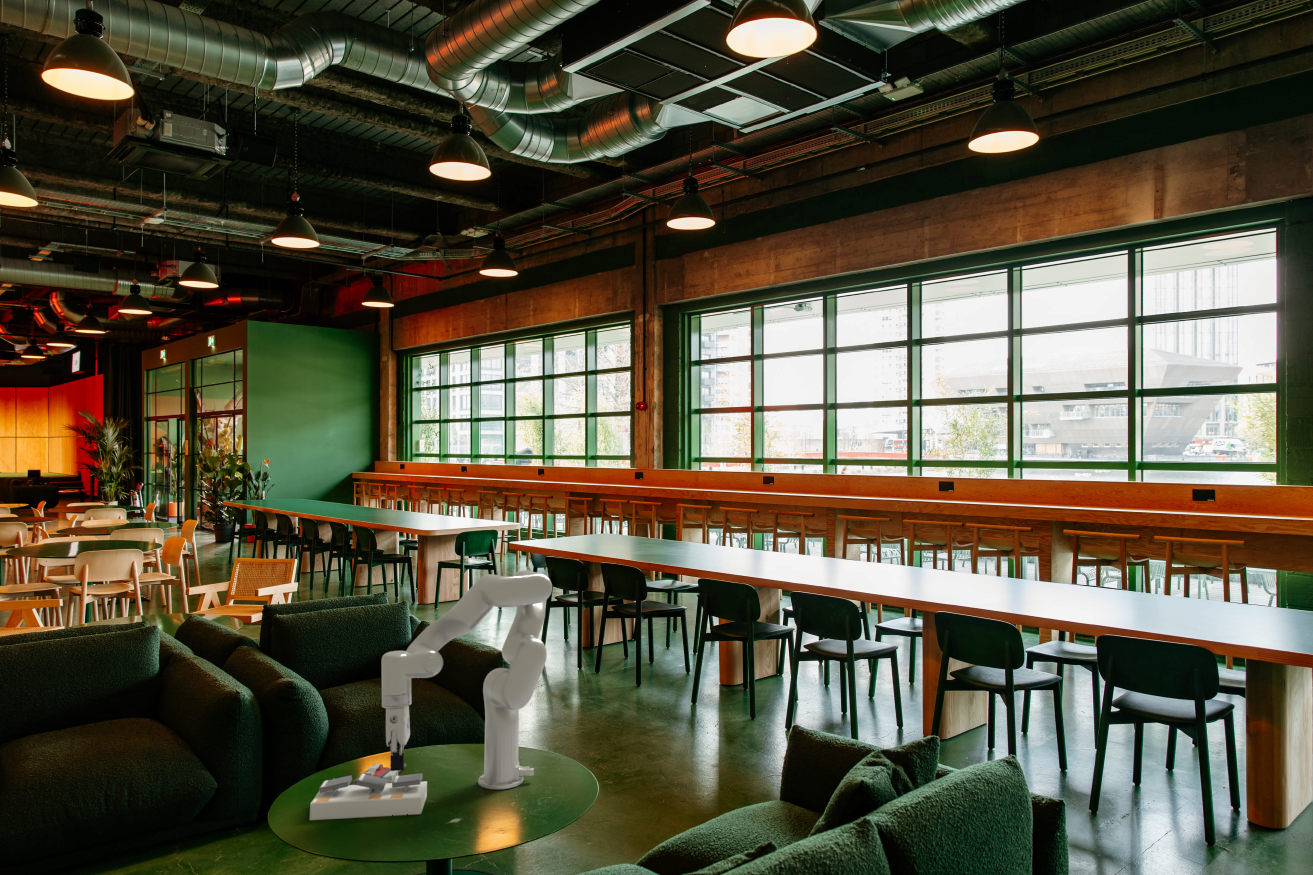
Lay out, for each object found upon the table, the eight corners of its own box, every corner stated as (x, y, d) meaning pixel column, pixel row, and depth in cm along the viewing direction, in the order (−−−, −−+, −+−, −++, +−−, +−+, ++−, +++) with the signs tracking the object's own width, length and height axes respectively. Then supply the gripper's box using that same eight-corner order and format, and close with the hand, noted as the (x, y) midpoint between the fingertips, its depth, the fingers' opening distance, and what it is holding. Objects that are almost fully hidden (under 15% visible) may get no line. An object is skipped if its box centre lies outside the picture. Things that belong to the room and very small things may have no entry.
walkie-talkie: (379, 794, 220) (409, 769, 240) (380, 777, 220) (409, 753, 240) (348, 792, 221) (380, 768, 241) (349, 776, 221) (381, 753, 241)
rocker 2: (386, 783, 214) (387, 778, 214) (382, 790, 209) (384, 785, 209) (359, 777, 213) (361, 772, 213) (355, 784, 208) (357, 779, 208)
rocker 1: (352, 779, 212) (351, 774, 212) (348, 786, 207) (347, 781, 207) (324, 785, 211) (323, 780, 211) (319, 792, 206) (319, 787, 206)
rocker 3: (422, 777, 215) (422, 772, 215) (419, 784, 210) (419, 778, 210) (395, 780, 214) (395, 775, 214) (392, 787, 209) (391, 782, 209)
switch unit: (426, 796, 217) (427, 775, 218) (420, 813, 206) (421, 792, 206) (321, 801, 213) (322, 780, 213) (309, 819, 201) (310, 797, 202)
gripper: (407, 705, 206) (407, 778, 206) (415, 690, 221) (415, 758, 220) (376, 707, 205) (377, 781, 204) (386, 692, 220) (387, 760, 219)
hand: (397, 769), depth 212 cm, fingers closed
